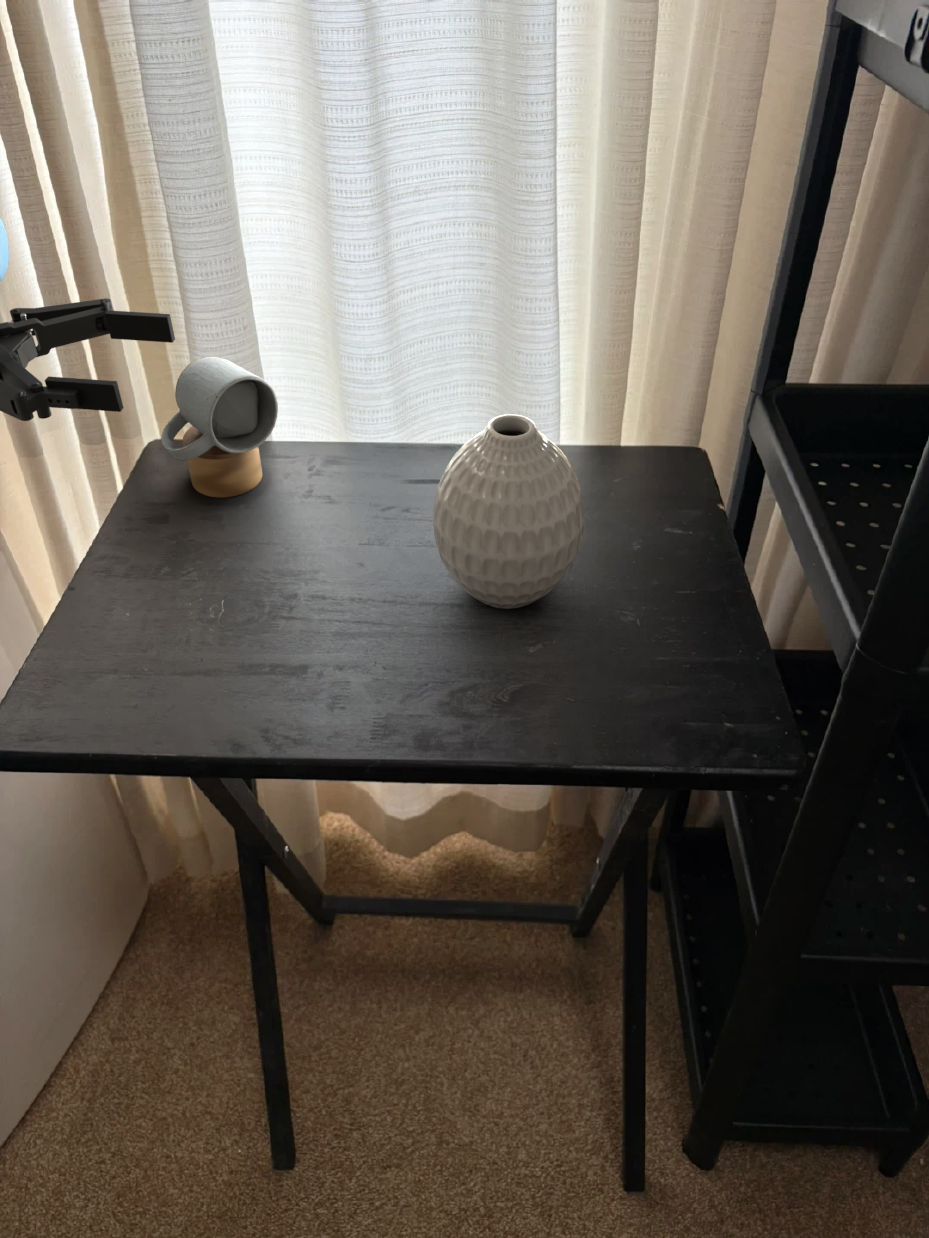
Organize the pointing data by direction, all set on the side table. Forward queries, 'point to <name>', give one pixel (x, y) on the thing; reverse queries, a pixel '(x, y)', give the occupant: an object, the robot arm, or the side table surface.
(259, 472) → the oak stand
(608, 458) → the side table surface
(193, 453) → the ceramic mug
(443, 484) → the vase
